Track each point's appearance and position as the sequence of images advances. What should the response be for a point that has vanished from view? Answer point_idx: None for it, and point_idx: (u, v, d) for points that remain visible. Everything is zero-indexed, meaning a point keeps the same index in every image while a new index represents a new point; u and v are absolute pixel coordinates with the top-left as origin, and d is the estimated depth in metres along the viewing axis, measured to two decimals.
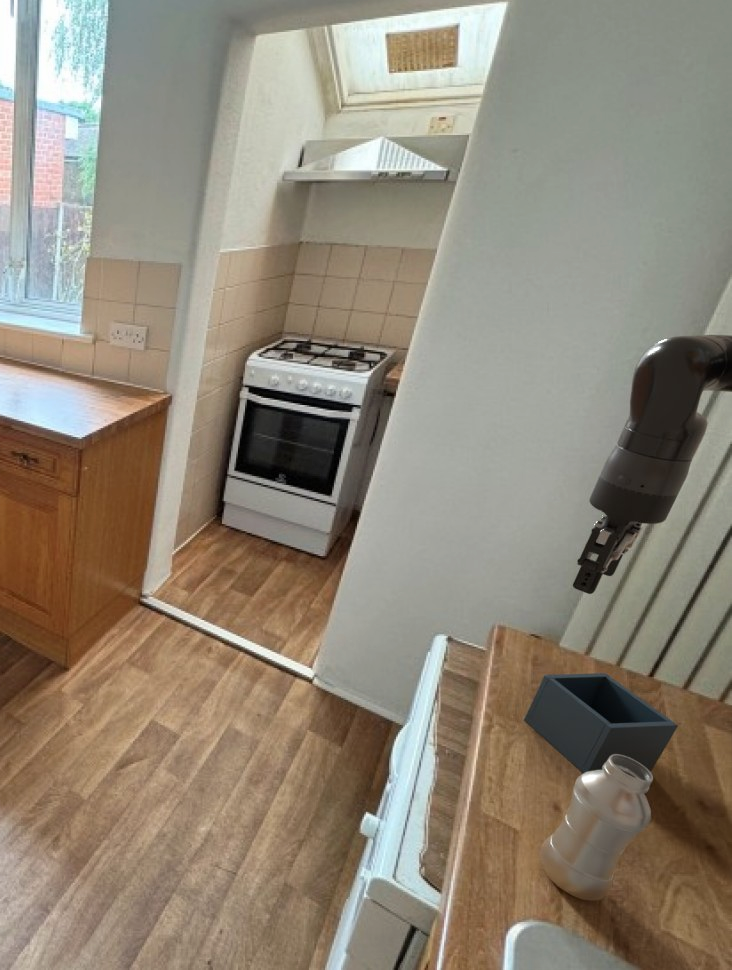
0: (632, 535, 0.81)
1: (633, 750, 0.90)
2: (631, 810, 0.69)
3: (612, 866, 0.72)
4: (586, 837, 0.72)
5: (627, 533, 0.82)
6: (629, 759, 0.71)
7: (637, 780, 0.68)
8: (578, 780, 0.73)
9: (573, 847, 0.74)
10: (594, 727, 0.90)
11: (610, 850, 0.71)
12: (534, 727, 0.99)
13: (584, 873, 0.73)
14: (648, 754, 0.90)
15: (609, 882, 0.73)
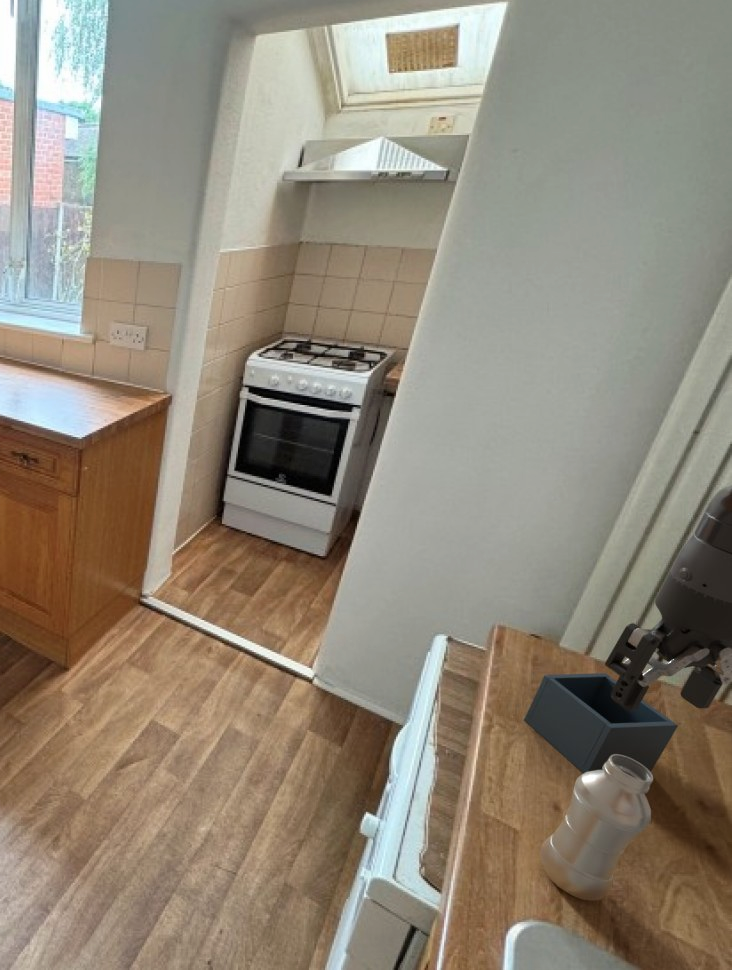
0: (698, 650, 0.63)
1: (633, 750, 0.90)
2: (632, 811, 0.69)
3: (612, 866, 0.72)
4: (586, 837, 0.72)
5: (692, 646, 0.63)
6: (629, 759, 0.71)
7: (637, 780, 0.68)
8: (578, 780, 0.73)
9: (573, 847, 0.74)
10: (594, 727, 0.90)
11: (610, 850, 0.71)
12: (534, 727, 0.99)
13: (584, 873, 0.73)
14: (648, 754, 0.90)
15: (609, 882, 0.73)
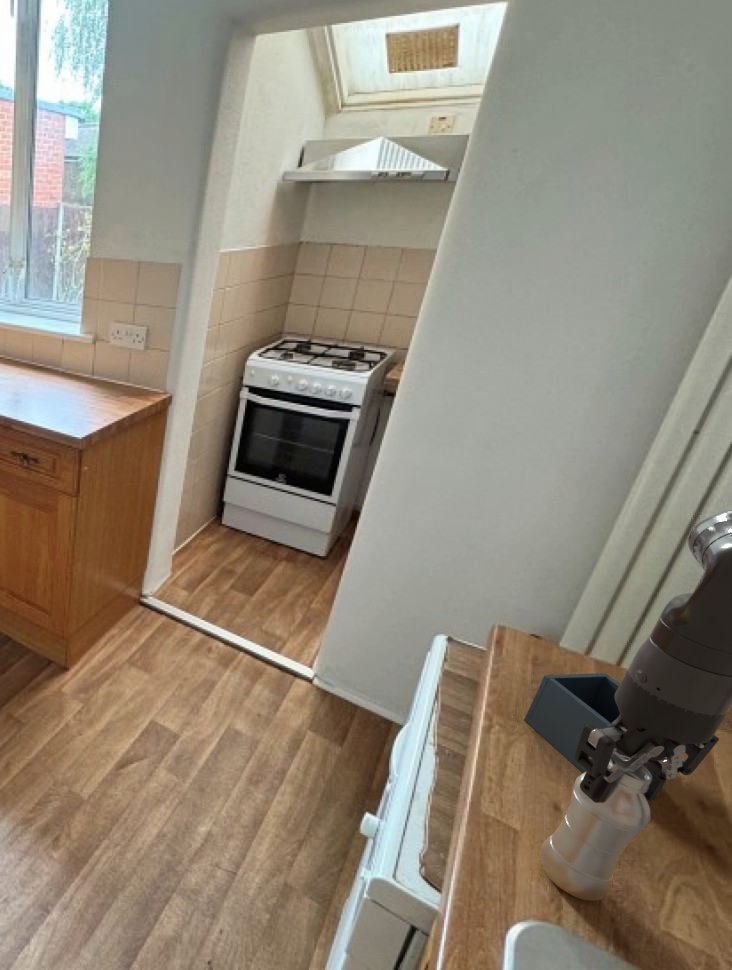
0: (652, 748, 0.66)
1: None
2: (631, 810, 0.69)
3: (611, 866, 0.72)
4: (586, 837, 0.72)
5: (648, 743, 0.66)
6: (628, 759, 0.71)
7: (636, 780, 0.68)
8: (577, 780, 0.73)
9: (573, 847, 0.74)
10: None
11: (610, 850, 0.71)
12: (534, 727, 0.99)
13: (584, 873, 0.73)
14: None
15: (609, 882, 0.73)
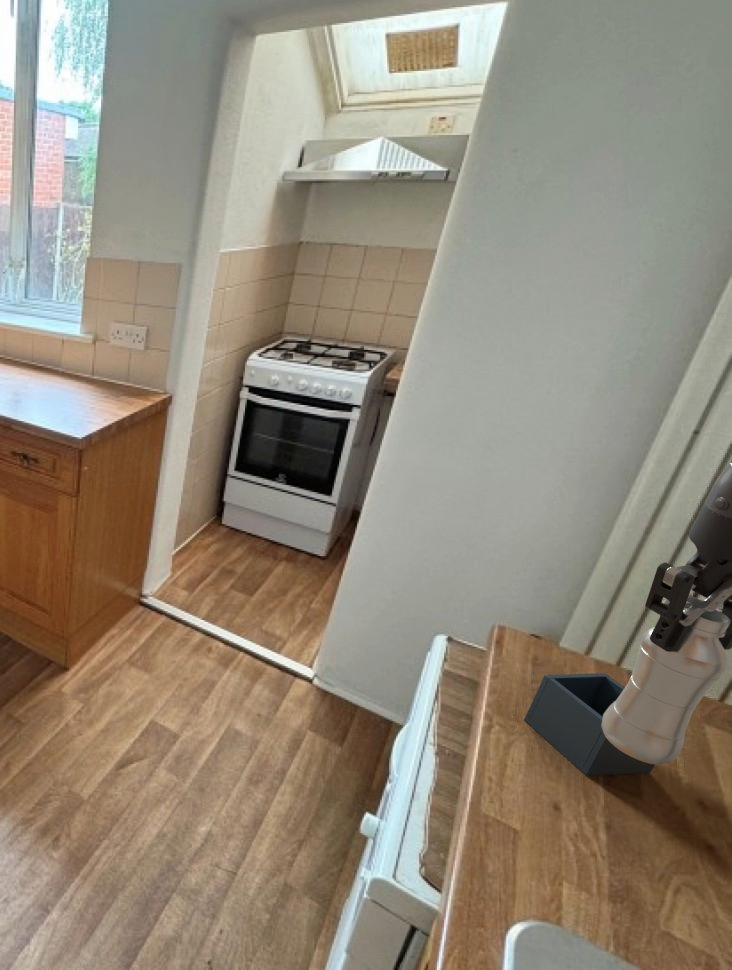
0: None
1: None
2: (707, 657, 0.64)
3: (684, 723, 0.67)
4: (656, 693, 0.68)
5: (729, 578, 0.62)
6: None
7: (714, 623, 0.64)
8: (645, 635, 0.69)
9: (641, 707, 0.69)
10: (594, 727, 0.90)
11: (682, 704, 0.67)
12: (534, 727, 0.99)
13: (653, 733, 0.69)
14: None
15: (680, 742, 0.68)
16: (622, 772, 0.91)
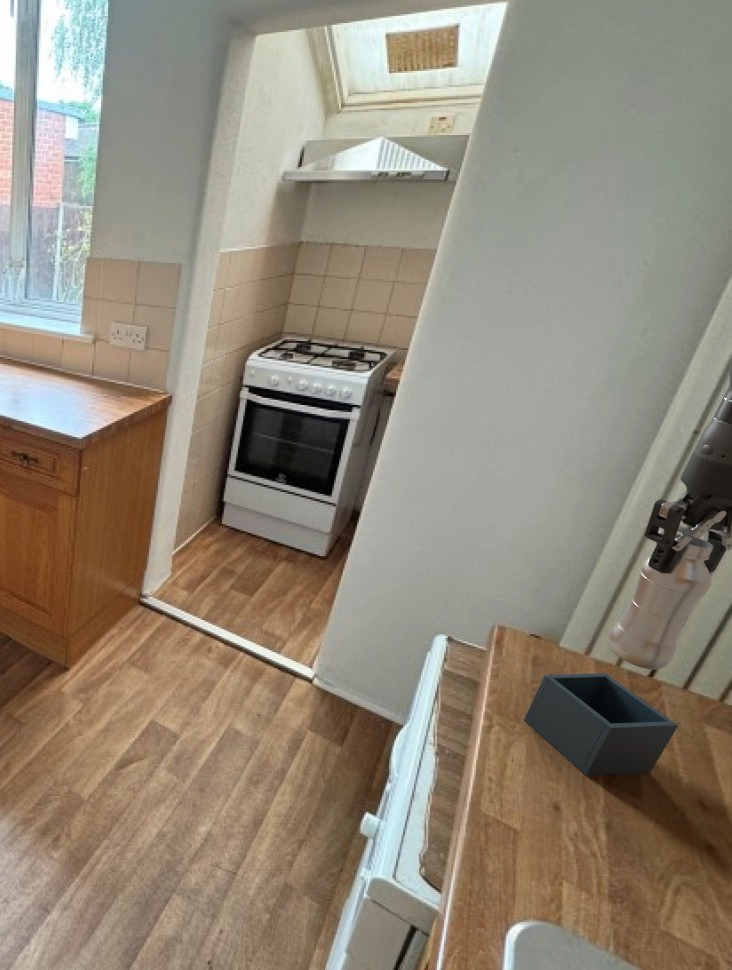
0: (716, 513, 0.76)
1: (633, 750, 0.90)
2: (695, 576, 0.79)
3: (675, 633, 0.82)
4: (653, 609, 0.83)
5: (712, 510, 0.77)
6: None
7: (700, 548, 0.79)
8: (644, 562, 0.84)
9: (640, 622, 0.84)
10: (594, 727, 0.90)
11: (674, 617, 0.82)
12: (534, 727, 0.99)
13: (650, 643, 0.84)
14: (648, 754, 0.90)
15: (672, 649, 0.83)
16: (622, 772, 0.91)
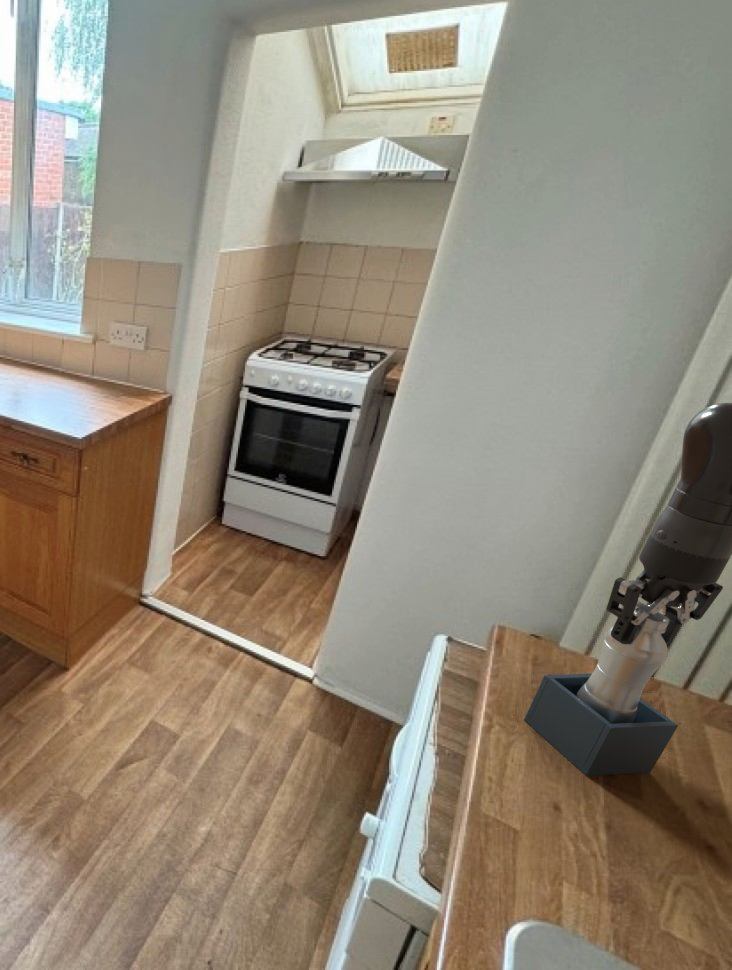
0: (670, 593, 0.83)
1: (633, 750, 0.90)
2: (652, 648, 0.86)
3: (636, 698, 0.89)
4: (615, 675, 0.89)
5: (667, 589, 0.83)
6: None
7: (656, 622, 0.85)
8: (608, 631, 0.91)
9: (604, 686, 0.91)
10: (594, 727, 0.90)
11: (634, 684, 0.88)
12: (534, 727, 0.99)
13: (613, 706, 0.90)
14: (648, 754, 0.90)
15: (634, 712, 0.90)
16: (622, 772, 0.91)
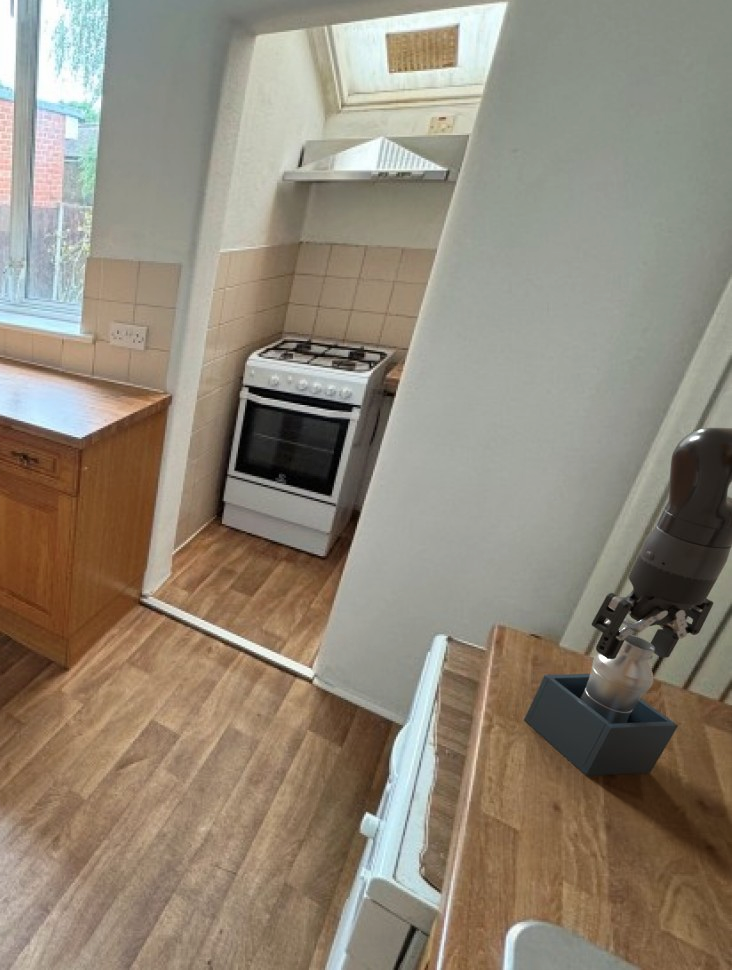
0: (659, 612, 0.84)
1: (633, 750, 0.90)
2: (638, 675, 0.88)
3: None
4: (602, 701, 0.91)
5: (656, 609, 0.85)
6: (636, 637, 0.90)
7: (643, 650, 0.87)
8: (595, 657, 0.93)
9: None
10: (594, 727, 0.90)
11: (621, 710, 0.90)
12: (534, 727, 0.99)
13: None
14: (648, 754, 0.90)
15: None
16: (622, 772, 0.91)
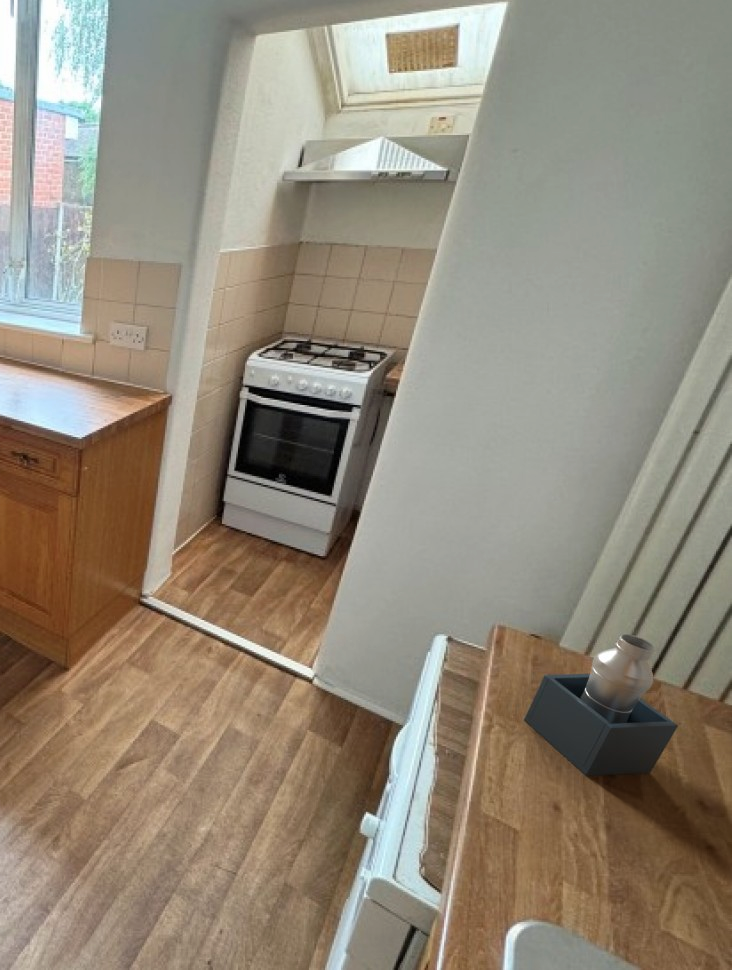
0: None
1: (633, 750, 0.90)
2: (638, 674, 0.88)
3: None
4: (602, 701, 0.91)
5: None
6: (636, 637, 0.90)
7: (642, 650, 0.87)
8: (595, 657, 0.93)
9: None
10: (594, 727, 0.90)
11: (621, 709, 0.90)
12: (534, 727, 0.99)
13: None
14: (648, 754, 0.90)
15: None
16: (622, 772, 0.91)
